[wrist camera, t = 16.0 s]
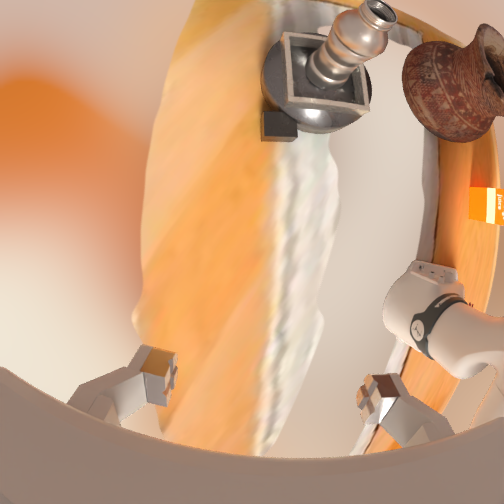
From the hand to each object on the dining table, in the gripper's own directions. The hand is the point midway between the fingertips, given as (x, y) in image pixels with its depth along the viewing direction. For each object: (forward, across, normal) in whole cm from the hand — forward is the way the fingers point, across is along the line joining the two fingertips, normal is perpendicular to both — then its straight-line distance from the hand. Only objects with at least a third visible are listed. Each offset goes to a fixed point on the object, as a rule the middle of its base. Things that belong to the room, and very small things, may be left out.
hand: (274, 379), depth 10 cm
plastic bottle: (+34, -5, -25) cm, 42 cm away
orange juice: (+42, -51, -13) cm, 67 cm away
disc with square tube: (+38, -4, -24) cm, 46 cm away
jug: (+42, -30, -32) cm, 61 cm away
